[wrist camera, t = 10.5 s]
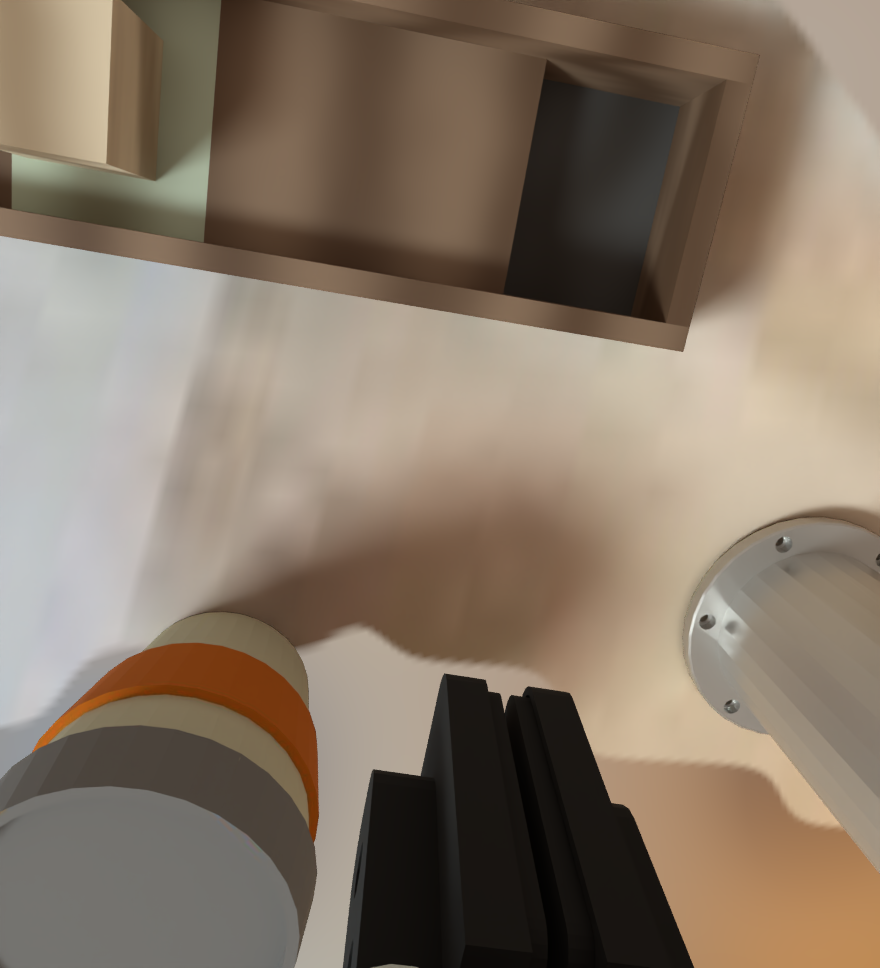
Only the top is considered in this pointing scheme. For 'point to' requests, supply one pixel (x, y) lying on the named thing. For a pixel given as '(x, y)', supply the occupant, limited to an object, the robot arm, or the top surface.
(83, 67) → the maple block
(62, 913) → the reusable coffee cup
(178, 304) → the top surface
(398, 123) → the tray
